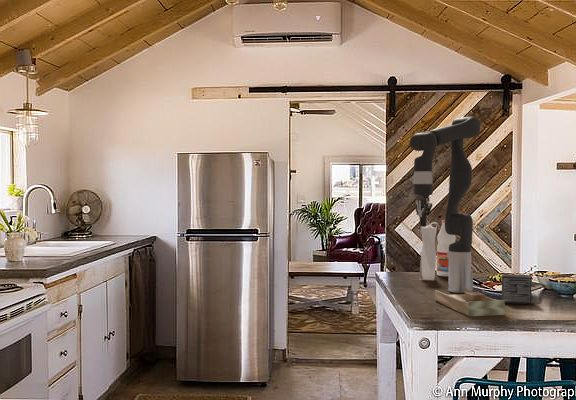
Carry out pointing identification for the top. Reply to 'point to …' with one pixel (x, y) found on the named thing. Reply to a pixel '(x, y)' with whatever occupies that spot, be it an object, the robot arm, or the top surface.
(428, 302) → the top surface
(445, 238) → the fruit juice
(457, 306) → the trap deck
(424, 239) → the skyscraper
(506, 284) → the small box
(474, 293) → the walnut block
